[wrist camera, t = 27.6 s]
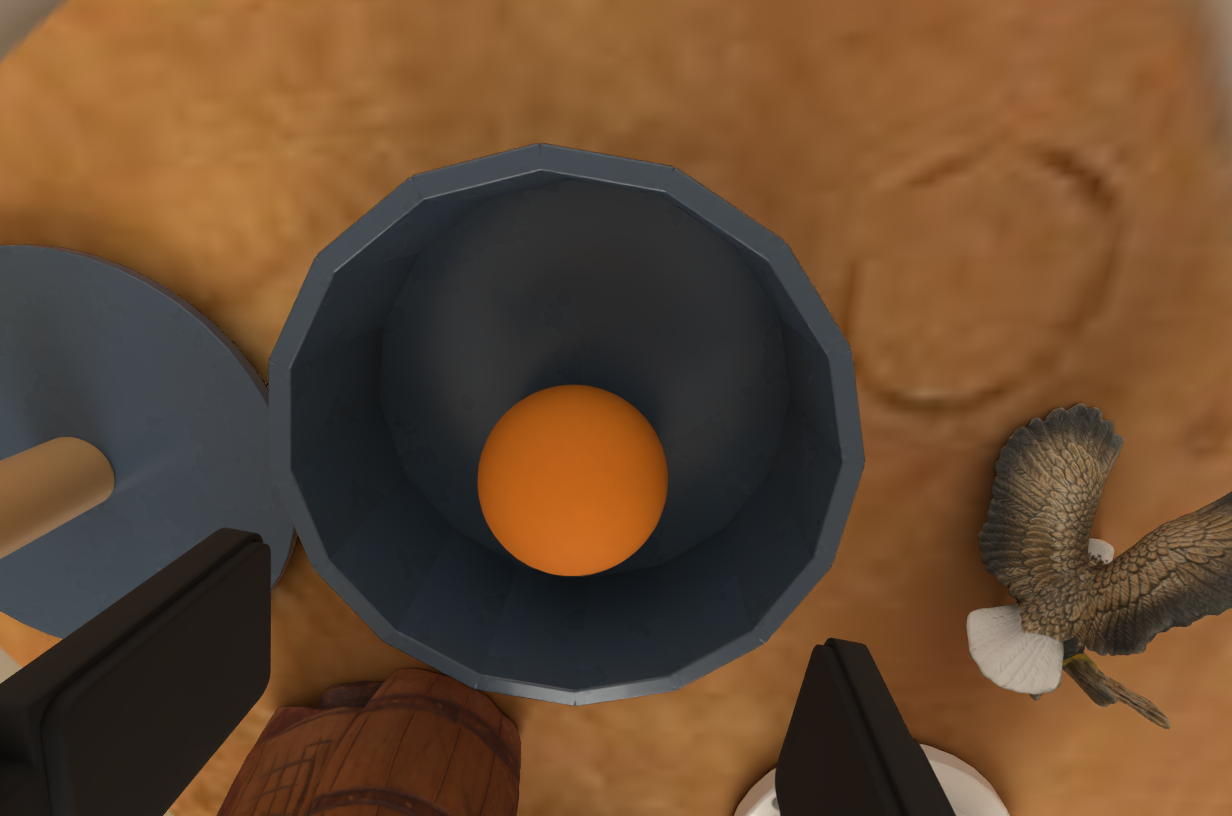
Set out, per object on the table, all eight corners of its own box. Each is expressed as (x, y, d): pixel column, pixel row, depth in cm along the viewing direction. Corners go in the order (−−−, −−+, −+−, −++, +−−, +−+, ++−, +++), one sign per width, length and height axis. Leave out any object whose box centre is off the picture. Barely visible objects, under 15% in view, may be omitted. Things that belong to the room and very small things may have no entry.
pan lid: (309, 662, 27) (218, 788, 21) (-69, 599, 27) (-264, 709, 21) (312, 286, 22) (193, 317, 16) (-156, 205, 22) (-446, 207, 16)
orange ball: (645, 451, 24) (650, 605, 21) (489, 439, 24) (469, 597, 20) (682, 355, 20) (696, 536, 16) (487, 336, 19) (459, 522, 15)
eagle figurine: (1163, 653, 24) (1309, 455, 19) (1172, 806, 19) (1375, 585, 14) (949, 560, 27) (1031, 376, 23) (907, 666, 22) (1003, 456, 18)
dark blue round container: (744, 609, 25) (776, 740, 19) (362, 544, 25) (271, 656, 19) (855, 209, 20) (946, 213, 14) (380, 125, 20) (263, 93, 14)
